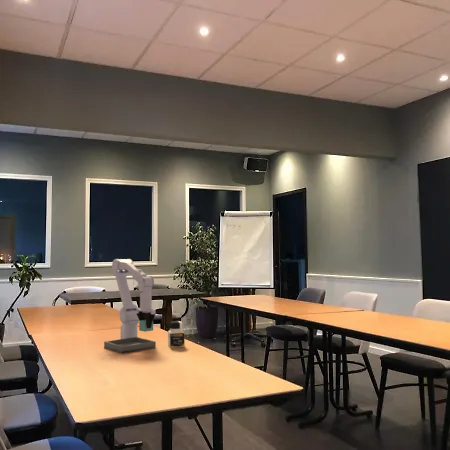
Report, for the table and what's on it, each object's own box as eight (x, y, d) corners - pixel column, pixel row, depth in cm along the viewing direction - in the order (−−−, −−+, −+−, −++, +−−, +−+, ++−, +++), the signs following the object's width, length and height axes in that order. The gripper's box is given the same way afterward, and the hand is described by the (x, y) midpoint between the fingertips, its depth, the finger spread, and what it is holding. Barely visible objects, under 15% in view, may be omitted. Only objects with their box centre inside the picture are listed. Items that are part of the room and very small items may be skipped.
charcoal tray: (104, 347, 225) (104, 341, 225) (136, 342, 237) (136, 336, 237) (122, 353, 211) (122, 346, 212) (155, 347, 223) (155, 341, 223)
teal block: (139, 330, 233) (139, 320, 233) (147, 329, 236) (147, 319, 237) (144, 331, 229) (144, 321, 229) (153, 330, 233) (153, 320, 233)
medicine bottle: (170, 347, 223) (170, 322, 224) (167, 345, 230) (167, 320, 231) (184, 346, 225) (184, 322, 226) (182, 344, 232) (181, 320, 233)
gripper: (131, 299, 236) (131, 326, 235) (146, 301, 225) (146, 330, 225) (143, 298, 241) (143, 325, 240) (159, 300, 230) (159, 328, 229)
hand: (145, 327), depth 233 cm, fingers closed on teal block, 5 cm apart
